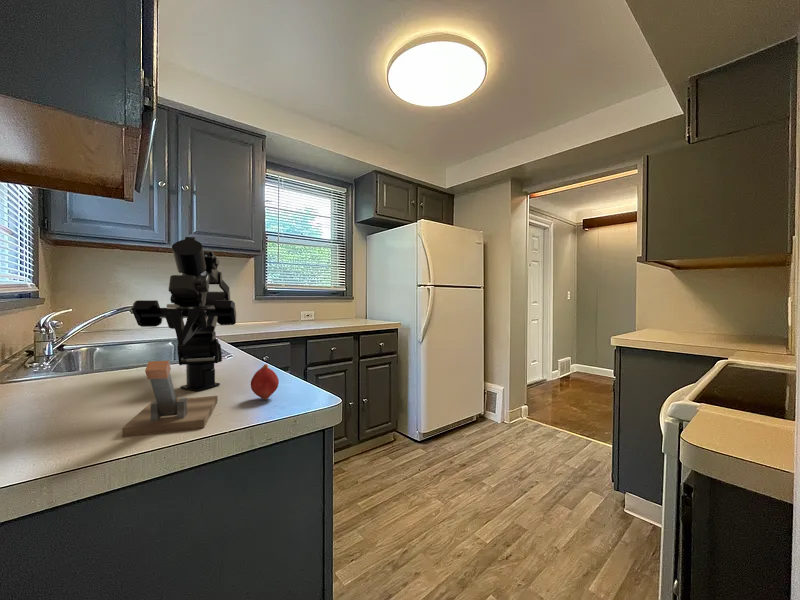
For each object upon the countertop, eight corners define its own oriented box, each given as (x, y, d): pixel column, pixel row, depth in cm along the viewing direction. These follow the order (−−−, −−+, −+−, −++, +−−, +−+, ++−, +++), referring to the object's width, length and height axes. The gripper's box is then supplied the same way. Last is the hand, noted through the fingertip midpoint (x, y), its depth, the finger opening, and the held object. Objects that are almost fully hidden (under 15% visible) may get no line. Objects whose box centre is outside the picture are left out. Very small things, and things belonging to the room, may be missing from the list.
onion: (245, 402, 76) (245, 365, 76) (261, 394, 82) (261, 360, 82) (268, 404, 75) (268, 367, 75) (283, 396, 80) (283, 362, 80)
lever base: (152, 408, 72) (152, 386, 72) (217, 402, 76) (217, 381, 76) (122, 436, 58) (121, 409, 57) (203, 428, 62) (203, 402, 62)
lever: (162, 409, 63) (148, 361, 56) (180, 408, 64) (168, 360, 57) (159, 419, 62) (145, 370, 55) (178, 417, 63) (165, 369, 56)
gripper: (134, 261, 71) (110, 318, 61) (234, 264, 77) (228, 317, 67) (148, 298, 79) (129, 355, 69) (238, 298, 85) (233, 351, 75)
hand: (180, 344), depth 70 cm, fingers closed
